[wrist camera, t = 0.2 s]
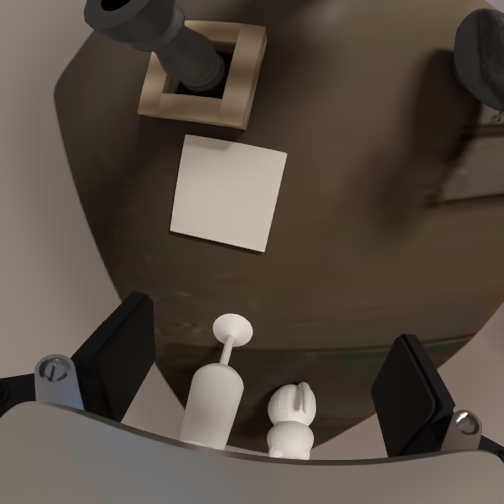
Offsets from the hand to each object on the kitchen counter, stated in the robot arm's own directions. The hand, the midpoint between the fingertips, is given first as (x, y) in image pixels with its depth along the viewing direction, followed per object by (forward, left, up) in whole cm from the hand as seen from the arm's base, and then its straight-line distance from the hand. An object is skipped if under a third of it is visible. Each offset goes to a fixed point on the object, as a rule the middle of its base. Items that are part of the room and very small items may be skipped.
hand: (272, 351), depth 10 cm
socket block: (-16, -13, -31) cm, 38 cm away
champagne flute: (+22, -2, -31) cm, 38 cm away
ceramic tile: (0, -7, -31) cm, 32 cm away
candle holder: (-16, -13, -31) cm, 38 cm away
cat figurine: (+34, +12, -32) cm, 48 cm away
